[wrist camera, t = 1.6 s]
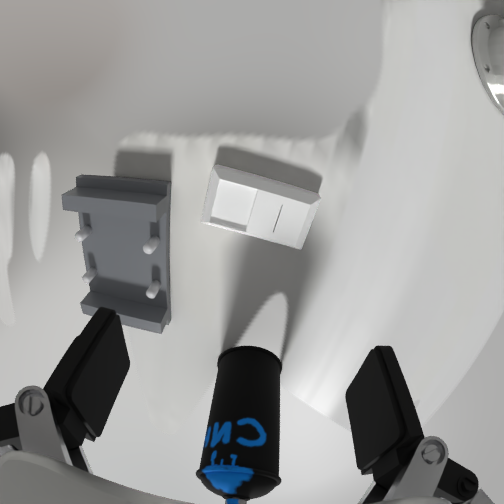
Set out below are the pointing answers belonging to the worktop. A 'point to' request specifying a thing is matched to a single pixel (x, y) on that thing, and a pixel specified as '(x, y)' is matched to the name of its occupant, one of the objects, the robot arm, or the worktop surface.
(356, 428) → the robot arm
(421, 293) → the worktop surface
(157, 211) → the pin tray
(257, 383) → the aerosol can
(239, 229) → the white rectangular block
